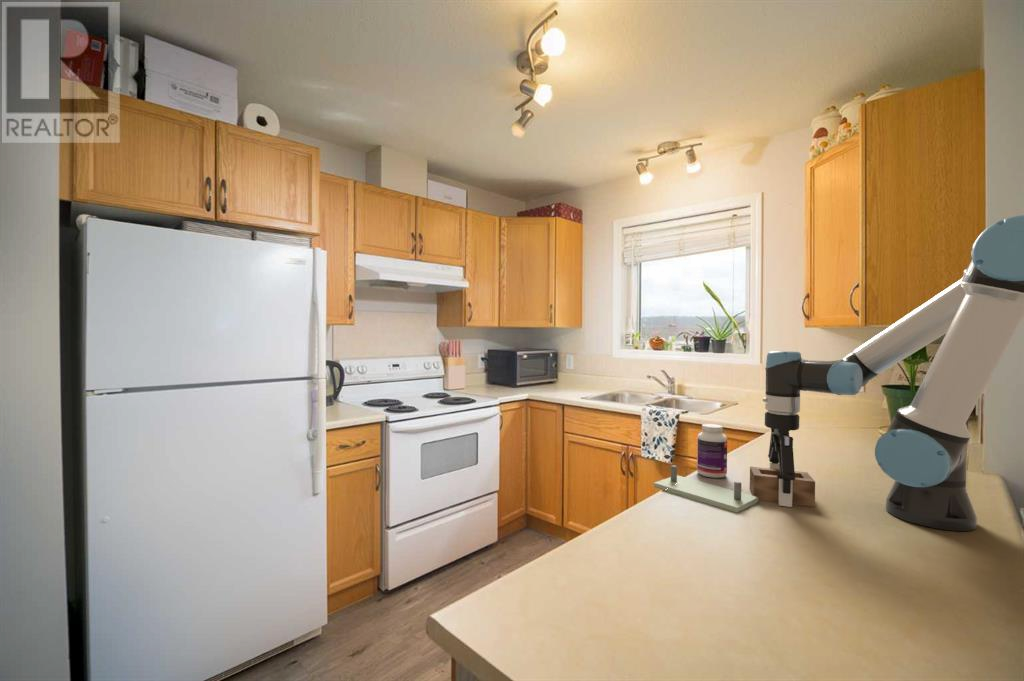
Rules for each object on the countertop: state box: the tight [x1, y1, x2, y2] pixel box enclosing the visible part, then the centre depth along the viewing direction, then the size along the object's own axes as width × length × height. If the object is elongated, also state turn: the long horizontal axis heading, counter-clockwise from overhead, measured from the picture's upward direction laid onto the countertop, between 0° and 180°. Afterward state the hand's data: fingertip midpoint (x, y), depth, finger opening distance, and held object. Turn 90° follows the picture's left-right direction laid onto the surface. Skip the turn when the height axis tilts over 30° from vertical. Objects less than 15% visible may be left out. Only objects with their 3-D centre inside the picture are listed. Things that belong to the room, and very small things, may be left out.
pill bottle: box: [696, 423, 728, 479], centre depth 133 cm, size 8×8×14 cm
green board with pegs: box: [653, 465, 759, 514], centre depth 117 cm, size 22×11×5 cm, turn 39°
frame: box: [749, 466, 816, 507], centre depth 115 cm, size 13×8×6 cm, turn 69°
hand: (779, 496), depth 116 cm, fingers open, 13 cm apart
